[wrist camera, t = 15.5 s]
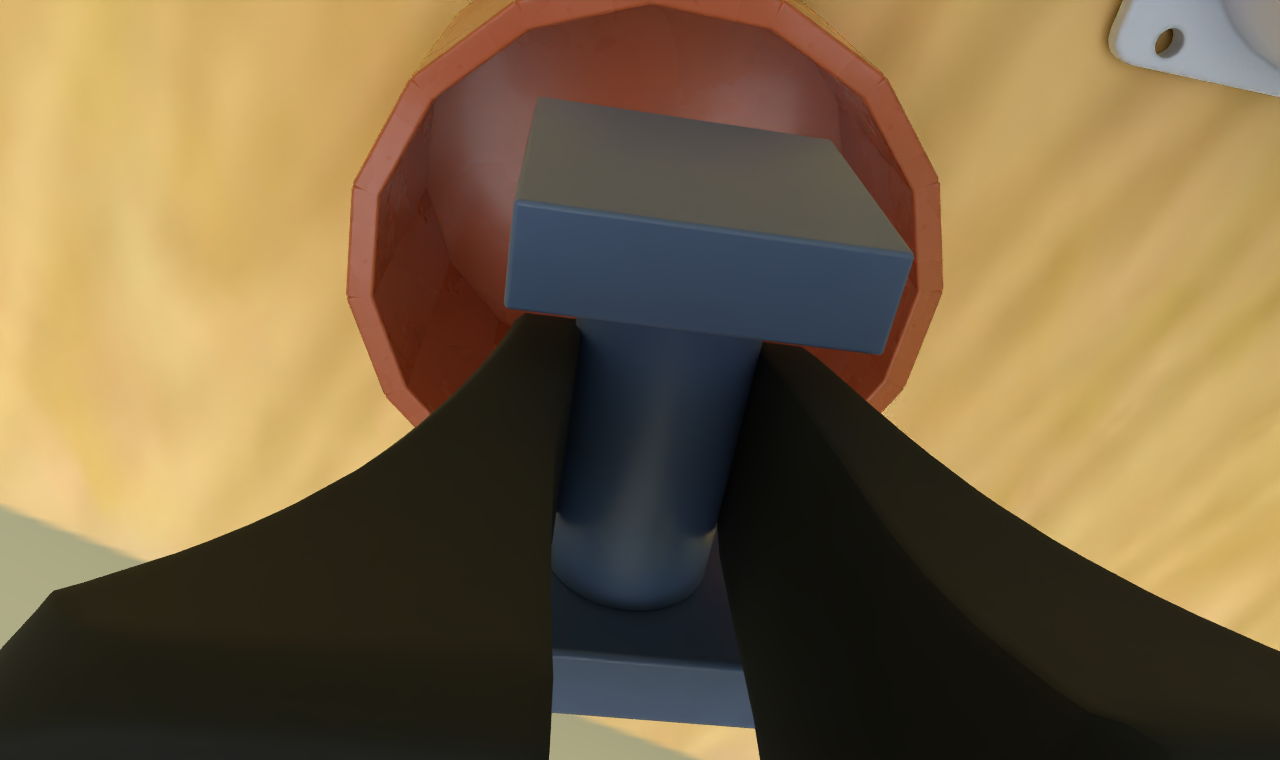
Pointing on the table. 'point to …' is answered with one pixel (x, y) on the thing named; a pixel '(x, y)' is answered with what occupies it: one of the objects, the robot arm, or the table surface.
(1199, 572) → the table surface
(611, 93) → the pot
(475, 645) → the robot arm
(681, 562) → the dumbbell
